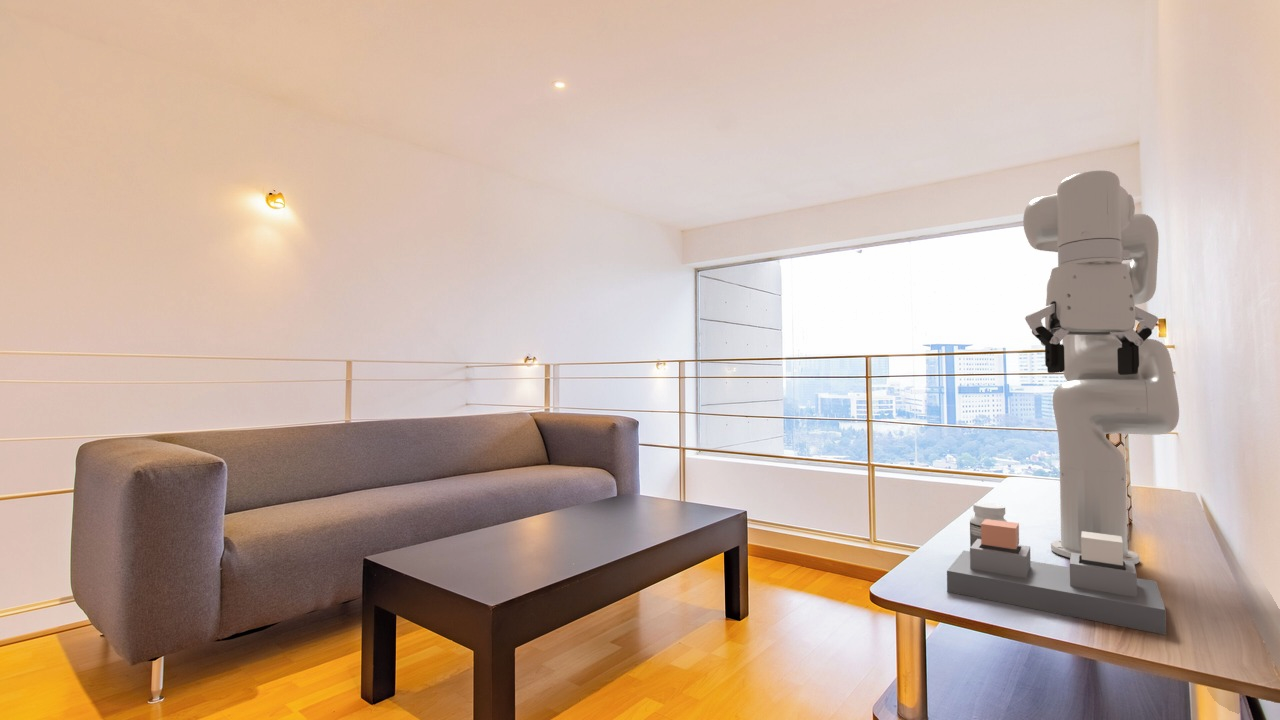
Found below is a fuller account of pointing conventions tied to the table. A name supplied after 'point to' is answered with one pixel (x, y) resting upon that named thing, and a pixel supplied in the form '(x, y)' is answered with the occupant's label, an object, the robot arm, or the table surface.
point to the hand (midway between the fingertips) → (1091, 373)
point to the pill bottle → (981, 514)
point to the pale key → (1102, 548)
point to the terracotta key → (1000, 533)
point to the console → (1060, 586)
